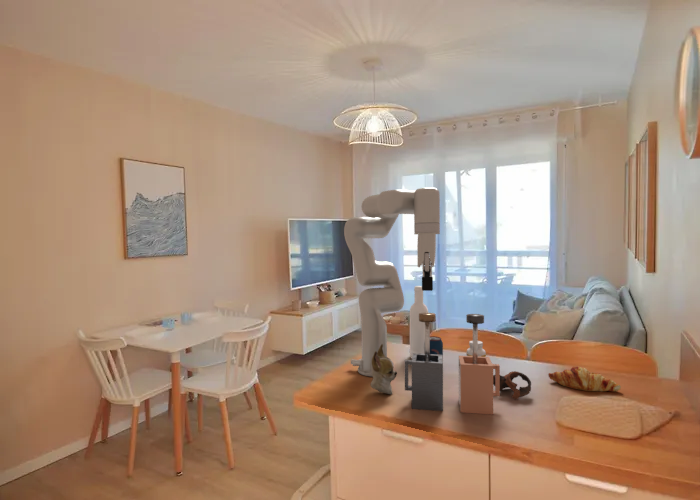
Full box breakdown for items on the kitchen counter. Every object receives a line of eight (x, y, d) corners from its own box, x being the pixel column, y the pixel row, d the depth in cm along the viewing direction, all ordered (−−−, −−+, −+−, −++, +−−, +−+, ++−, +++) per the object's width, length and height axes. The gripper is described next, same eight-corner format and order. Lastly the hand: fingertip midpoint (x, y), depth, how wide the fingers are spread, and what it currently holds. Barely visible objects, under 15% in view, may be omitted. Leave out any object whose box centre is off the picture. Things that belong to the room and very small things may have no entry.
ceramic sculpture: (394, 401, 128) (393, 353, 128) (366, 398, 131) (366, 351, 130) (400, 388, 138) (399, 344, 138) (374, 386, 141) (374, 342, 140)
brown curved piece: (523, 390, 138) (532, 373, 134) (525, 412, 130) (535, 395, 126) (487, 379, 140) (495, 361, 136) (487, 400, 132) (495, 383, 128)
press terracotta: (460, 412, 120) (460, 364, 119) (458, 400, 128) (458, 355, 128) (501, 415, 117) (501, 366, 117) (496, 402, 126) (496, 357, 126)
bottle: (409, 354, 179) (408, 285, 178) (427, 354, 178) (427, 285, 177) (410, 359, 171) (409, 287, 170) (429, 360, 170) (429, 287, 169)
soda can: (422, 370, 157) (422, 339, 157) (426, 365, 163) (426, 335, 163) (441, 372, 154) (441, 340, 154) (444, 367, 161) (444, 336, 160)
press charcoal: (404, 408, 123) (403, 361, 122) (405, 396, 132) (405, 353, 131) (442, 410, 121) (442, 363, 120) (442, 399, 129) (442, 354, 129)
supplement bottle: (483, 374, 152) (483, 339, 152) (487, 380, 145) (487, 344, 145) (465, 374, 153) (465, 339, 152) (468, 380, 146) (468, 344, 146)
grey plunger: (465, 378, 121) (465, 317, 120) (464, 372, 126) (464, 313, 126) (486, 380, 120) (486, 317, 119) (484, 373, 125) (484, 313, 125)
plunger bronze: (417, 376, 123) (417, 315, 123) (418, 370, 129) (417, 312, 128) (437, 377, 122) (437, 316, 122) (436, 371, 128) (436, 312, 127)
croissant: (619, 400, 136) (619, 375, 139) (622, 395, 128) (622, 369, 131) (548, 388, 146) (549, 365, 149) (547, 382, 138) (548, 359, 141)
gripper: (415, 230, 132) (415, 287, 133) (413, 229, 118) (413, 293, 118) (439, 229, 131) (439, 287, 131) (440, 228, 116) (440, 293, 117)
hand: (427, 290), depth 125 cm, fingers closed
